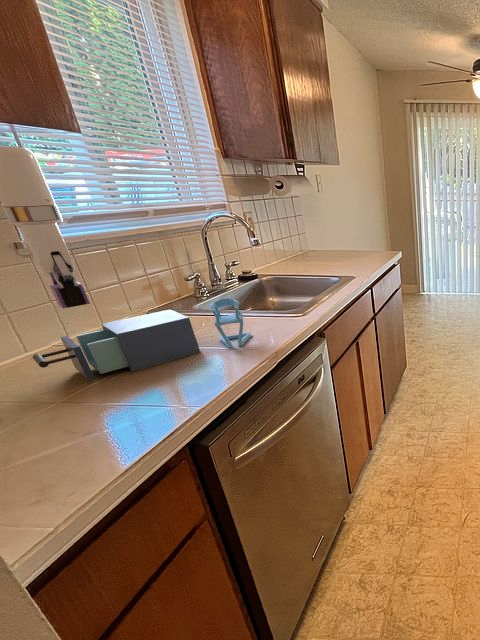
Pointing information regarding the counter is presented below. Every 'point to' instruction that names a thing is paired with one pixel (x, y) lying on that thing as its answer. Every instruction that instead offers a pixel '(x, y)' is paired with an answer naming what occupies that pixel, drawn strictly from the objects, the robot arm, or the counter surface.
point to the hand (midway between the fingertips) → (73, 302)
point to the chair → (229, 321)
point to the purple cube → (59, 298)
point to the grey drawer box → (154, 338)
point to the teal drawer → (90, 353)
